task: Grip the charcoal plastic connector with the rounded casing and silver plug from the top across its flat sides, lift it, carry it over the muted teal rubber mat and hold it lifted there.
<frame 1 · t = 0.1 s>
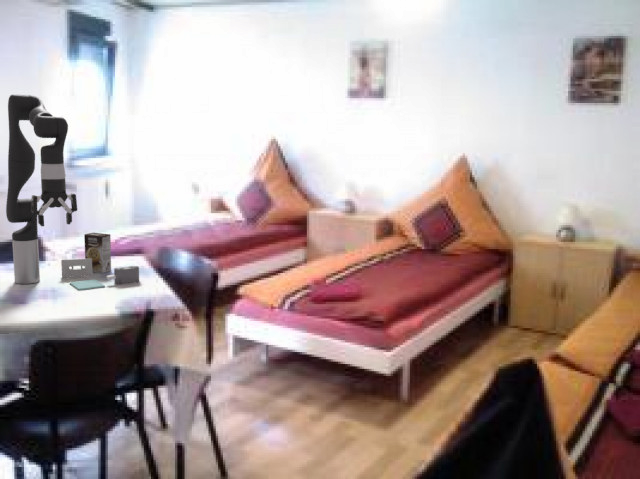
hand: (55, 225, 222), 29 cm above the table, tool pointing down, fingers open, 8 cm apart
cassette: (77, 277, 272), on the table
teal rubber mat: (87, 285, 259), on the table
connector: (127, 282, 265), on the table
coffee box: (98, 271, 284), on the table
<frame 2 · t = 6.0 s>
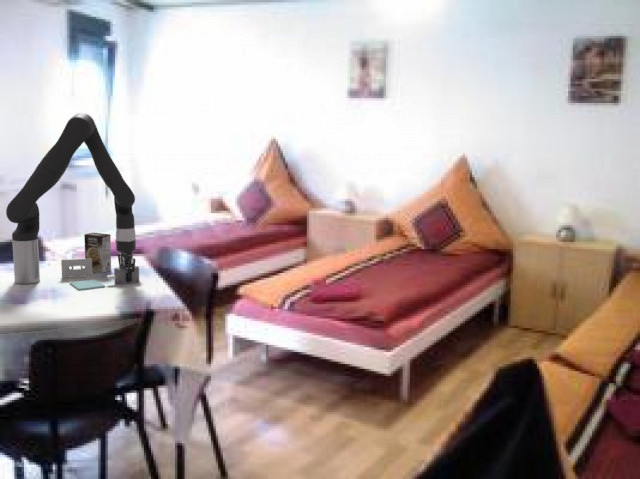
hand: (127, 280, 265), 1 cm above the table, tool pointing down, fingers closed on connector, 4 cm apart
connector: (127, 282, 265), on the table, touching gripper
everything else where it was.
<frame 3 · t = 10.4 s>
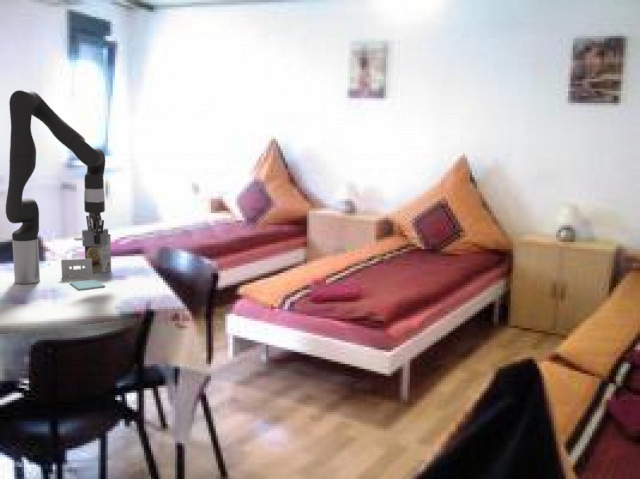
hand: (95, 242, 258), 17 cm above the table, tool pointing down, fingers closed on connector, 4 cm apart
connector: (95, 244, 258), point 16 cm above the table, touching gripper
everything else where it was.
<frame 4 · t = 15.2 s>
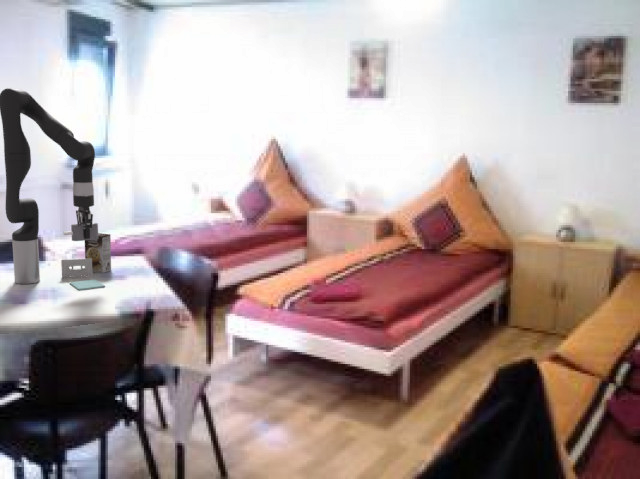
hand: (85, 237, 255), 19 cm above the table, tool pointing down, fingers closed on connector, 4 cm apart
connector: (85, 239, 256), point 18 cm above the table, touching gripper
everything else where it was.
at the end: the gripper is holding connector; connector inside the target area (0.0 cm from its centre), point 18.4 cm above the table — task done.
